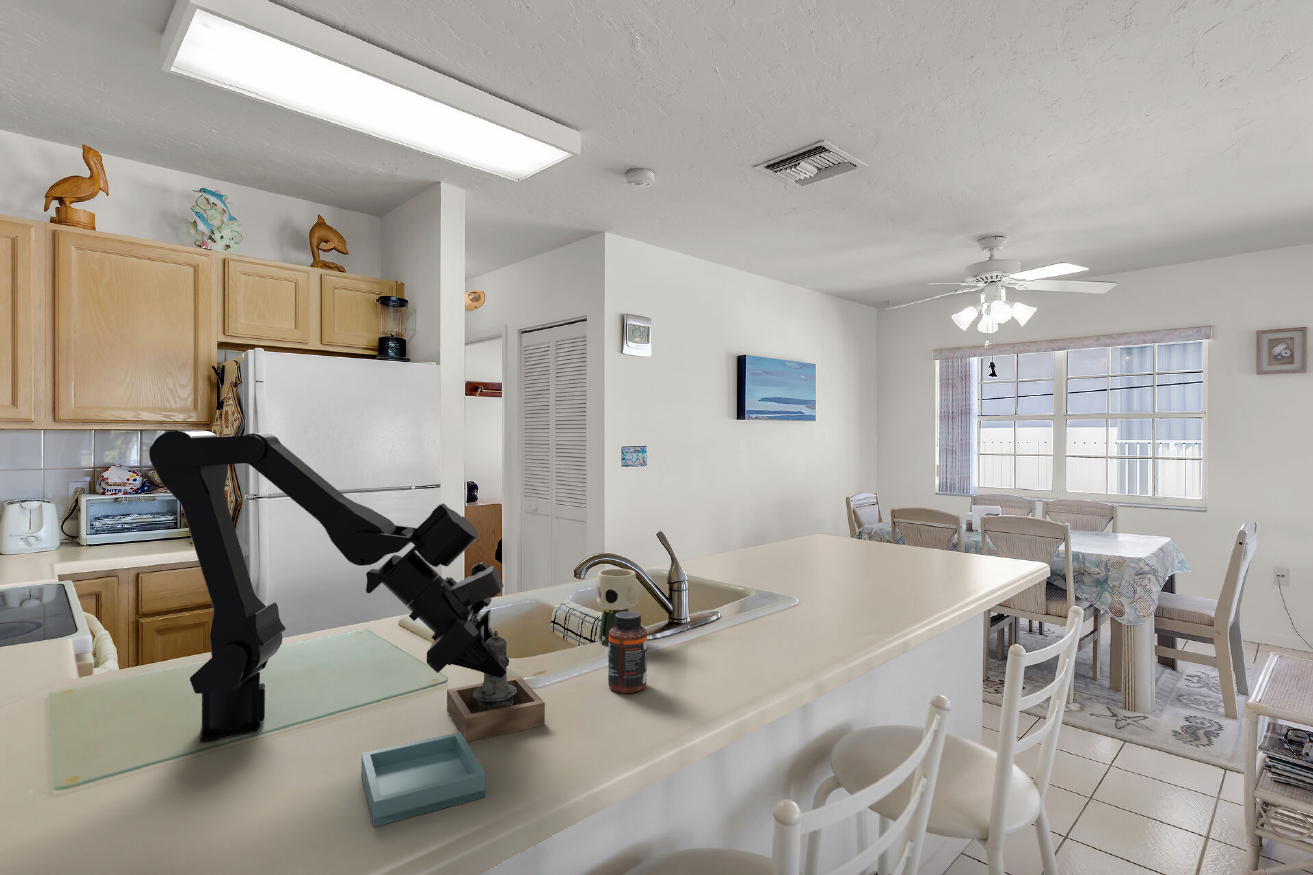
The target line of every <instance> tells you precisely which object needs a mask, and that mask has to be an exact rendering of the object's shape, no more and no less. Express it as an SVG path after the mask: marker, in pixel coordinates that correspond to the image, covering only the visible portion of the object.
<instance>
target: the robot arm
mask: <svg viewBox="0 0 1313 875" xmlns="http://www.w3.org/2000/svg"><path fill="white" fill-rule="evenodd" d="M148 456H149V461H150V464H151V466H152V467H153V469H154V471H155V473H156V475H157V477H158V478H159V481H160V483H161V484H162V485H163V486H164V488H165V489H166V490H167V491H169V493H171V495H172V496H173V498H175V499H176V500H177V501H178V503H180V505H181V508H182V511H183V514H184V518H185V521H186V524H187V527H188V530H189V535H190V537H191V540H192V544H193V547H194V551H195V553H196V556H197V560H198V563H199V567H200V570H201V573H202V576H203V580H204V582H205V586H206V589H207V593H208V595H209V599H210V602H211V606H212V611H213V613H212V619H211V625H210V630H209V637H208V638H209V645H210V656H211V658H210V659H209V660H208V661H207V662H205V663H204V664H203V665H202V666H200V668H198V670H196V671H195V672H194V673H193V674H192V675H191V676H190V678H189V681H190V684H191V687H192V689H193V692H194V694H201V728H200V734H199V739H198V740H199V742H209V741H212V740H218V739H224V738H229V737H235V736H239V735H240V736H241V735H245V734H249V733H250V734H251V733H257V732H259V731H260V730H261V722H264V721H265V717H266V716H265V715H266V684H265V683H264V682H262V683H261V672H260V671H261V670H264V669H265V668H267V664H268V662H269V660H270V659H271V658H272V657H273V656H274V655H275V654H277V652H278V651H279V649H280V648H281V645H282V644H283V632H284V631H286V629H287V628H286V626H285V625H284V624H283V622H282V621H281V619H280V614H279V612H280V611H279V606H278V604H277V602H272V603H270V604H268V605H266V604H264V603H263V601H262V600H260V599H259V598H258V597H257V595H256V593H255V591H254V587H253V584H252V580H251V578H250V573H249V571H248V568H247V567H248V566H247V564H246V562H245V558H244V554H243V551H242V548H241V545H240V541H239V538H238V535H237V532H236V528H235V525H234V522H233V518H232V514H231V511H230V509H229V505H228V501H227V499H226V495H225V489H226V483H227V478H228V474H229V473H228V472H229V467H228V465H236V464H238V465H239V464H241V465H242V464H247V465H250V467H251V468H254V469H255V470H256V471H257V472H258V473H260V474H261V475H262V476H263V477H264V478H265V479H267V480H268V481H269V482H270V483H272V484H273V485H274V486H275V487H276V488H278V489H279V490H280V491H281V492H282V493H284V494H285V495H286V496H287V497H288V498H290V499H291V500H292V501H293V502H295V503H296V504H297V505H299V506H300V508H302V509H304V510H305V511H306V512H307V513H308V514H310V515H311V516H312V517H313V518H314V519H315V520H317V521H318V522H319V524H321V525H322V527H323V529H324V530H325V532H326V534H327V535H328V537H329V539H330V541H331V543H332V544H333V545H334V546H335V547H336V549H338V550H339V552H340V553H341V554H342V556H344V558H345V559H346V560H347V561H348V562H349V563H352V564H353V565H356V566H359V567H361V566H371V565H374V564H377V563H378V562H380V561H381V560H383V559H384V558H385V557H387V556H388V555H390V554H394V555H392V556H391V557H389V559H387V561H386V562H385V563H384V564H382V566H380V567H379V568H378V569H377V568H370V569H369V570H368V571H367V572H366V573H365V576H366V587H365V593H366V594H371V593H372V592H373V591H375V590H377V588H379V587H380V586H381V584H382V585H383V586H385V587H386V589H387V590H388V591H390V592H391V593H392V595H394V596H395V597H396V598H397V599H398V600H399V601H400V602H401V603H402V604H404V606H406V608H407V609H408V610H410V614H409V615H408V617H409V618H410V619H411V620H412V621H413V622H415V621H416V620H420V622H422V623H423V624H424V625H425V626H426V627H427V628H428V629H429V630H431V631H432V632H433V634H432V636H431V639H432V640H433V641H434V642H432V644H431V645H430V647H429V648H428V650H427V652H426V664H427V666H429V667H430V668H431V669H433V671H434V672H436V673H437V674H439V673H440V672H441V671H442V670H443V669H444V668H445V667H447V666H452V665H453V666H457V667H461V668H465V669H470V670H473V671H476V672H480V673H483V674H484V673H486V674H489V675H493V676H496V677H499V678H502V677H503V676H504V675H505V674H506V675H507V673H506V672H507V671H508V670H507V671H506V669H505V668H504V666H503V665H502V664H501V662H500V661H499V660H498V658H497V657H496V656H495V654H494V653H493V652H492V651H491V649H490V648H489V647H488V645H487V644H486V641H487V640H488V639H489V638H491V637H493V636H494V634H493V633H494V632H493V630H492V629H491V614H492V611H491V609H488V610H487V611H485V613H484V614H481V613H480V612H481V611H482V610H483V609H484V608H485V607H486V608H487V607H489V606H490V604H491V602H492V600H493V599H492V598H494V597H495V596H497V595H500V594H501V593H502V589H503V588H504V584H503V582H502V579H501V577H500V575H499V574H500V571H499V569H497V568H496V567H495V566H494V564H493V565H491V566H489V565H488V564H487V563H486V562H484V561H481V562H478V563H475V564H474V565H473V566H472V567H471V576H470V575H469V576H466V577H465V578H464V579H463V580H460V581H459V582H457V581H456V580H455V579H454V578H453V577H451V576H450V577H449V576H447V577H446V578H443V576H441V575H440V574H439V573H438V571H436V570H435V569H434V568H437V567H439V566H440V565H441V566H444V567H446V568H447V567H449V566H451V564H452V563H453V562H454V561H455V560H457V559H458V558H459V557H460V555H462V554H463V553H464V552H465V551H466V550H467V549H468V548H469V547H470V546H471V545H472V544H473V543H474V542H476V540H477V539H478V538H479V536H480V535H479V533H478V531H477V530H476V528H475V527H474V526H473V525H472V523H471V522H470V521H469V520H468V519H467V518H466V517H465V516H463V515H460V514H459V513H458V512H456V511H455V510H453V509H451V508H449V507H448V505H446V504H445V503H440V504H438V505H437V507H436V508H434V509H433V510H432V511H431V513H430V515H429V516H428V517H427V518H426V519H425V520H424V521H423V522H421V523H420V524H419V525H418V527H412V526H404V525H399V524H395V523H394V522H393V521H392V520H391V519H389V518H387V517H386V516H384V515H383V514H381V513H379V512H377V511H375V510H373V509H372V508H370V507H367V506H365V505H362V504H361V503H358V502H355V501H354V500H351V499H350V498H348V497H346V496H345V495H344V494H343V493H341V492H340V490H338V489H337V488H335V487H334V486H333V485H332V484H331V483H329V481H327V480H326V479H324V478H323V477H322V476H321V475H320V474H319V473H317V472H316V471H315V470H314V469H312V468H311V467H310V466H309V465H307V464H306V463H305V462H304V461H303V460H301V458H299V457H298V456H296V455H295V453H293V452H292V451H291V450H289V449H288V448H287V447H286V446H285V445H283V444H282V442H281V441H280V440H279V438H278V437H277V436H275V435H274V434H272V433H267V432H256V433H255V432H254V433H246V434H244V435H234V436H233V435H231V436H219V435H217V434H215V433H213V432H211V431H208V430H202V429H201V430H200V429H198V430H196V429H194V430H189V429H188V430H171V431H170V430H169V431H165V432H164V433H162V434H160V435H159V436H157V438H155V439H154V442H152V445H150V447H149V451H148ZM410 544H412V545H414V546H413V547H412V548H410V549H409V551H407V552H406V553H405V554H404V555H403V556H400V555H399V554H398V555H397V554H396V553H399V552H400V551H402V550H403V549H405V548H406V547H407V546H409V545H410ZM433 567H434V568H433ZM506 661H508V662H509V663H510V659H509V657H508V655H506Z"/></svg>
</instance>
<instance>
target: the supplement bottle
mask: <svg viewBox="0 0 1313 875" xmlns="http://www.w3.org/2000/svg"><path fill="white" fill-rule="evenodd" d="M641 619H642V614H641V613H640V612H637V611H633V610H632V611H631V610H629V611H623V612H619V613H617V614H616V615H615V623H616V624H615V625H614V626H613V627H612V628H611V629H610V631H609V643H608V651H607V652H608V653H607V654H608V659H607V660H608V661H607V662H608V666H607V667H608V668H607V669H608V670H607V672H608V673H607V674H608V676H607V678H608V681H607V682H608V687H609V689H611V690H612V691H614V692H617V693H621V694H631V693H638V692H640V691H643V689H645V688H646V687H647V676H648V675H647V674H648V673H647V670H648V666H647V664H648V662H647V659H648V657H647V655H648V648H647V647H648V632H647V630H646V628H645V627H644V626H642V624H641V623H642V620H641Z"/></svg>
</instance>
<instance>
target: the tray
mask: <svg viewBox="0 0 1313 875" xmlns="http://www.w3.org/2000/svg"><path fill="white" fill-rule="evenodd" d="M360 763H361V767H360V768H361V773H360V774H361V779H362V782H363V787H364V791H365V795H366V800H367V804H368V809H369V812H370V815H371V820H372V826H373V827H375V828H376V827H380V826H383V825H387V824H389V823H394V822H398V821H401V820H405V819H408V818H412V817H413V818H414V817H416V816H421V815H424V814H426V813H431V812H434V811H438V810H442V809H446V808H449V807H453V806H456V805H461V804H464V803H467V802H468V803H469V802H472V801H475V800H479V799H483V798H485V797H486V772H485V771H484V770H483V768H482V766H481V764H480V762H479V761H478V759H477V757H476V756H475V754H474V752H473V751H472V749H471V747H470V745H469V744H468V742H466V741H465V739H464V737H463V735H462V734H461V732H459V731H458V732H453V733H449V734H444V735H439V736H436V737H431V738H425V739H422V740H421V739H420V740H417V741H412V742H406V743H402V744H398V745H397V744H396V745H392V746H388V747H384V748H379V749H375V750H374V749H373V750H370V751H366V752H361V762H360Z"/></svg>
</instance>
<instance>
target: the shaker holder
mask: <svg viewBox="0 0 1313 875" xmlns="http://www.w3.org/2000/svg"><path fill="white" fill-rule="evenodd" d="M506 678H507V677H506ZM507 682H508V684H509V685H512V686H514V687H515V688H516V689H517V693H516V694H515V695H514V701H515V702H516V703H517V704H515V705H511V706H509V707H505V708H500V709H495V710H490V711H485V712H481V711H480V712H476V713H471V711H470V710H473V709H479V708H478V707H477V704H476V702H475V698H474V696H473V692H474V691H475V690H476V689H477V688H479V687H481V686H482V685H483V682H480V683H475V684H470V685H465V686H464V685H463V686H459V687H453V688H452V687H451V688H448V689H446V712H447V713H448V714H449V717H450V718H451V720H452V721H453V723H454V725H455V727H456V729H457V730H458V732H461V734H462V735H463V737H464V739H465V741H466V742H467V743H469V742H474V741H479V740H482V739H487V738H490V737H491V738H492V737H495V736H496V737H497V736H500V735H505V734H509V733H514V732H518V731H523V730H527V729H532V728H537V727H541V726H544V725H545V723H546V721H545V719H546V713H545V712H546V702H545V701H544V700H543V699H542V698H541V697H540V696H539V695H538V694H537V693H536V691H535V690H534V689H533V688H532V687H531V686H530V685H529V684H528V682H526V681H525V680H524V679H523V678H522V677H521V676H514V677H513V676H512V677H508V678H507Z"/></svg>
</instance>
